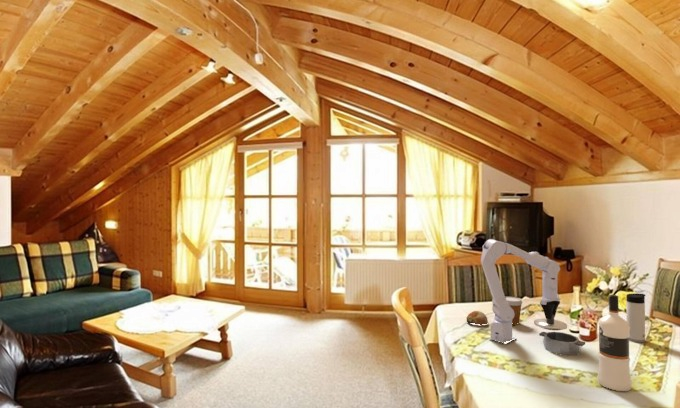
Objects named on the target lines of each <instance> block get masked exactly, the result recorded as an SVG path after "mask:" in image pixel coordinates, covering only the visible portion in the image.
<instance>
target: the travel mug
mask: <svg viewBox="0 0 680 408" xmlns="http://www.w3.org/2000/svg"><path fill="white" fill-rule="evenodd" d="M645 297H646V294H644V293H636V292H635V293H628V294H626V299H625V301H626V306H625V307H626V315H625V316H626V321H627V322H628V324H629V326H630V331H629V334H630V336H629V342H634V343H641V344H642V343H645V342H646V303H645V302H646V301H645Z"/></svg>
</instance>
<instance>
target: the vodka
mask: <svg viewBox="0 0 680 408" xmlns="http://www.w3.org/2000/svg"><path fill="white" fill-rule="evenodd" d="M629 331H630V326H629V324H628V322H627V320H625V319H624V318H623V317H621V316H620V314H619V295H616V294H609V295H608V314H607V315H604V316H602V317H600V318H599V319H598V337H599V339H598V344H599V345H598V351H599V352H598V359H599V360H598V362H599V363H598V370H597V371H598V372H597V377H596V379H597V382H598V383H599V385H601V386H602V387H604V388H605V387H606V388H605V389H608V388H609V389H608V390H610V389H612V390H611V391H614V390H616V391H615V392H620V391H625V392H629V391H631V390H632V388H633V382H632V380H631V371H630V361H631V358H630V340H629V336H630V334H629Z"/></svg>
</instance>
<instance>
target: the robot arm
mask: <svg viewBox="0 0 680 408" xmlns="http://www.w3.org/2000/svg"><path fill="white" fill-rule="evenodd" d="M504 254H506V255H508V254H512V255H514V256H516V257H519V258H521V259H524V260H525V263H526V264H527V265H530V266H533V267H534V268H535V269H536V268H537V269H538V270H541V271H542V296H541V299H540V302H539V304H540V306H541V308H542V310H543V314H544V317H545V319H552V314H554V318H555V317H556V314H557V311H558V307H559V306H560V304H561V299H562V298H560V295H559V293H558V274H559V272H560V271H561V267H560V264H559V263H558V262H557V261H556V260H552V259H550V257H548V256H544V255H541V254H540V252H538V251H531V252H530V251H529V252H527V251H525V250H523V249H521V248H520V247H517V246H514V245H513V244H511V243H507V242H503V241H500V240H495V239H493V238H489V239H487V240H486V241H484V244H483V245H482V252H481V257H480V264H481V267H482V270H483V273H484V276H485V278H486V282H487V286H488V288H489V291H490V294H491V298H492V300H491V302H492V307H491V308H492V312H493V313H494V317H493V318H494V319H493V322H492V323H491V325H490V338H491V339H493V340H496V341H500V342H503V343H504V342H506V341H510V340H512V339H514V338H515V339H516V340H517V338H516V337H513V325H512V319H513V318H514V315H515V313H514V310H513V309H512V308H511V307H510V305H509V303H508V301H507V300H506V298H505V297H506V296H505V292H504V289H503V287H502V283H501V279H500V277H499V275H498V272H497V268H496V265H495V263H496V261H497V260H498V259H500V258H501V257H502V256H503V255H504ZM512 337H513V338H512Z"/></svg>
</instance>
